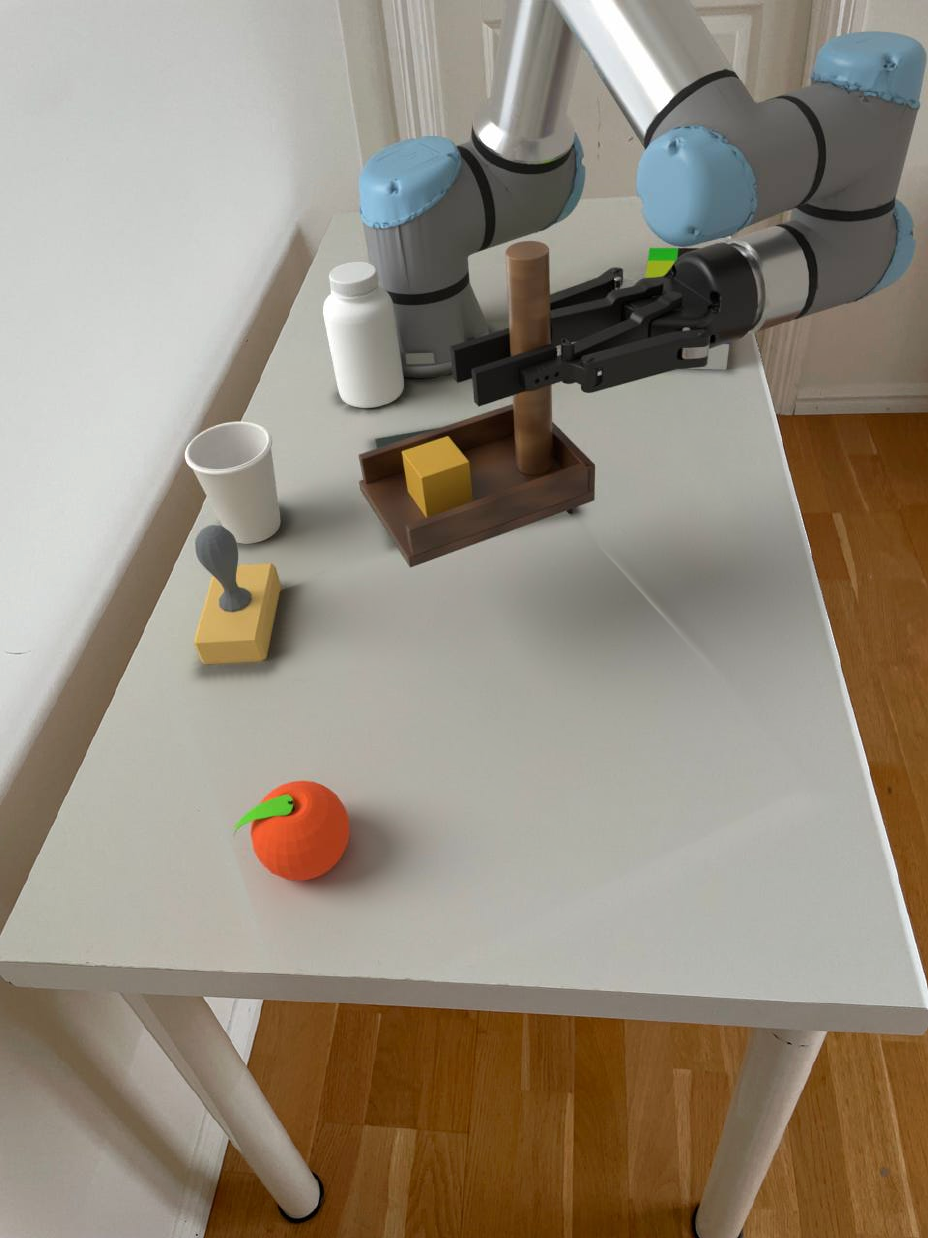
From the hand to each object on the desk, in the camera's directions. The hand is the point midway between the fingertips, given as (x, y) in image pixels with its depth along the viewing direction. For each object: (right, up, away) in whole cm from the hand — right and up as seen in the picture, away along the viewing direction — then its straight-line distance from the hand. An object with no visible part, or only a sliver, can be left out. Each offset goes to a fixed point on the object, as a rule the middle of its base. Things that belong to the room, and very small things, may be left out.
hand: (464, 376), depth 69 cm
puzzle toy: (+27, +15, +46) cm, 55 cm away
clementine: (-12, -35, 0) cm, 37 cm away
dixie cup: (-22, -8, +28) cm, 37 cm away
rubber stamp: (-20, -19, +18) cm, 33 cm away
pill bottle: (-11, +9, +45) cm, 47 cm away
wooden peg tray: (+1, -8, +8) cm, 11 cm away
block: (-2, -8, +6) cm, 10 cm away
